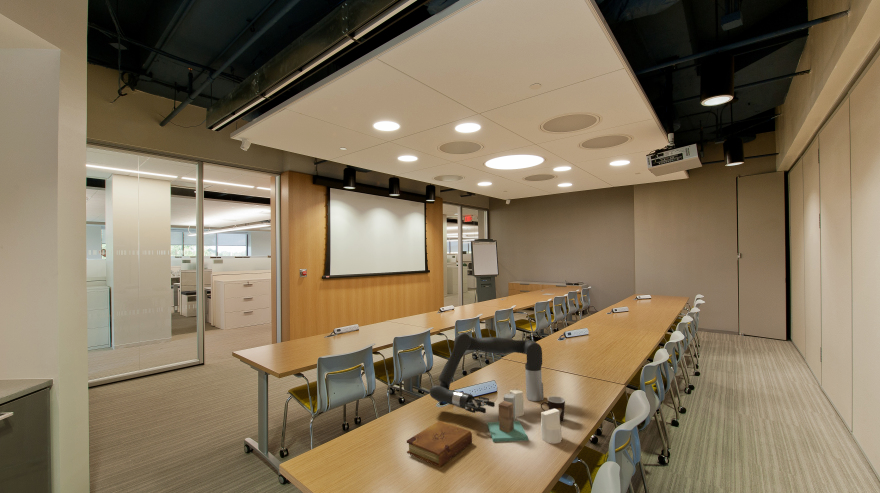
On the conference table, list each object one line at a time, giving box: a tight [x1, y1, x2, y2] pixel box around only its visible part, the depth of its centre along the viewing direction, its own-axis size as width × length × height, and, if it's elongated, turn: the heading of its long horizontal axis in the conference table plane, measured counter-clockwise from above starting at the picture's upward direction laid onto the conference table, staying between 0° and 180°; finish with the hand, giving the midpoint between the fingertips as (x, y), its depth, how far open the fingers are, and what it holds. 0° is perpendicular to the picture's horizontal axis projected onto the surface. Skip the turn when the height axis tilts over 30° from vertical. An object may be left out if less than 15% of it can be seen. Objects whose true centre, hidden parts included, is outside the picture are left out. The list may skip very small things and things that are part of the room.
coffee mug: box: [540, 395, 566, 423], centre depth 179 cm, size 12×9×10 cm
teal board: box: [486, 420, 529, 443], centre depth 166 cm, size 16×16×2 cm
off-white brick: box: [509, 388, 525, 418], centre depth 185 cm, size 5×5×12 cm
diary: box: [406, 420, 473, 468], centre depth 154 cm, size 23×19×6 cm
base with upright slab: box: [540, 408, 563, 444], centre depth 159 cm, size 9×9×12 cm
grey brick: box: [503, 393, 516, 421], centre depth 179 cm, size 5×5×12 cm
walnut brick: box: [498, 400, 514, 433], centre depth 166 cm, size 5×5×12 cm
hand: (490, 407), depth 171 cm, fingers open, 8 cm apart
